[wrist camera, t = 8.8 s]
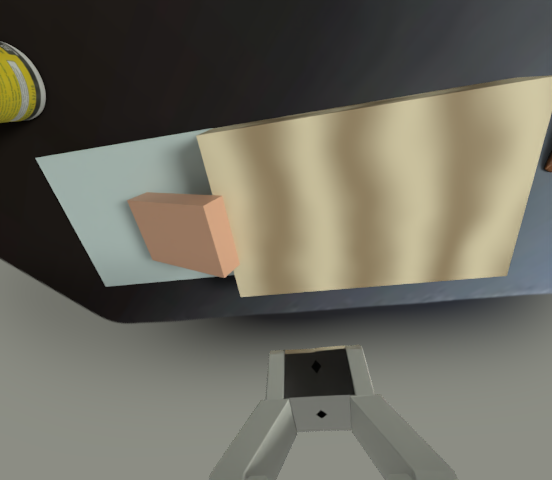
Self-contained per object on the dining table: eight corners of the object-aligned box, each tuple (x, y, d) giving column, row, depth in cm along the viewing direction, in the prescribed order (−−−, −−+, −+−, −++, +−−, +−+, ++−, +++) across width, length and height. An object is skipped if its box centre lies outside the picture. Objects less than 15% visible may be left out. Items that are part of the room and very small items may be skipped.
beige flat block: (513, 78, 19) (562, 74, 16) (478, 250, 26) (506, 275, 22) (212, 128, 22) (196, 135, 19) (247, 271, 29) (240, 297, 25)
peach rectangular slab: (222, 195, 20) (203, 206, 19) (239, 264, 23) (224, 278, 21) (146, 192, 25) (126, 200, 23) (169, 249, 28) (152, 260, 26)
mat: (212, 128, 22) (210, 128, 22) (247, 271, 29) (247, 273, 28) (39, 157, 24) (35, 158, 24) (108, 284, 31) (105, 286, 30)
